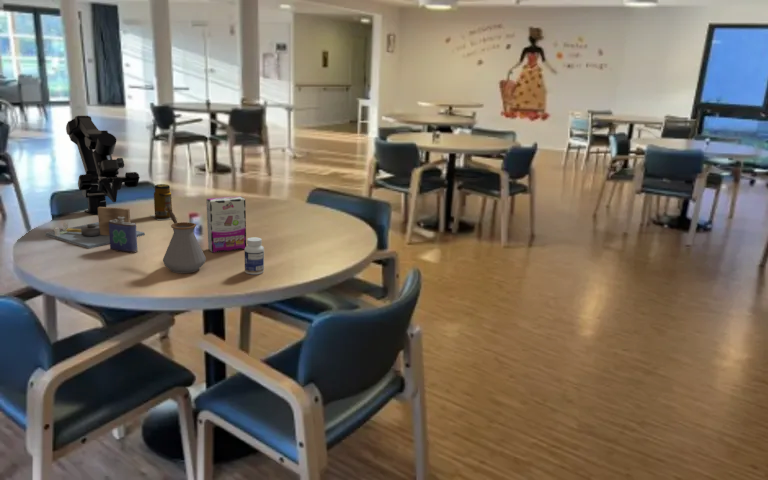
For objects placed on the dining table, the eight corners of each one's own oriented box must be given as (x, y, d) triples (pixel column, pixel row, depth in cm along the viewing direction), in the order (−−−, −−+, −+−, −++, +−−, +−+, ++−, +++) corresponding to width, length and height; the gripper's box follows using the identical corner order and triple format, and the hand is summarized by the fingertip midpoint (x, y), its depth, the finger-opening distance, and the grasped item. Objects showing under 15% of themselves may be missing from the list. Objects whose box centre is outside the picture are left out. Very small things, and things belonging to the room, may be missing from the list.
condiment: (169, 213, 222) (168, 182, 219) (177, 218, 216) (176, 187, 212) (150, 215, 217) (148, 184, 214) (157, 221, 211) (156, 188, 208)
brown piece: (62, 234, 185) (59, 206, 182) (72, 229, 190) (70, 202, 188) (126, 238, 184) (124, 211, 182) (134, 233, 190) (132, 207, 187)
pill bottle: (246, 268, 168) (245, 236, 165) (264, 269, 168) (265, 236, 165) (243, 274, 162) (243, 241, 160) (262, 275, 163) (262, 242, 160)
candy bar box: (241, 245, 189) (241, 195, 185) (246, 249, 185) (246, 198, 181) (207, 248, 183) (205, 197, 179) (211, 253, 179) (210, 201, 175)
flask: (139, 251, 177) (137, 217, 174) (133, 254, 174) (130, 219, 171) (114, 247, 179) (111, 213, 176) (107, 250, 176) (104, 215, 173)
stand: (45, 235, 186) (44, 225, 185) (101, 223, 203) (101, 214, 202) (89, 248, 176) (88, 238, 175) (144, 235, 193) (144, 225, 192)
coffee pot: (211, 272, 163) (210, 220, 159) (169, 278, 157) (167, 224, 152) (189, 251, 180) (187, 204, 176) (150, 255, 173) (147, 206, 169)
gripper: (76, 150, 190) (86, 190, 185) (136, 149, 201) (147, 186, 196) (73, 170, 198) (83, 208, 193) (131, 167, 209) (142, 204, 204)
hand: (114, 201), depth 196 cm, fingers closed
